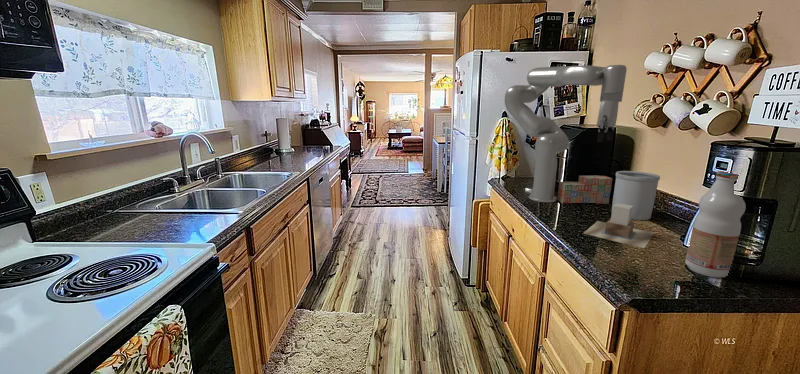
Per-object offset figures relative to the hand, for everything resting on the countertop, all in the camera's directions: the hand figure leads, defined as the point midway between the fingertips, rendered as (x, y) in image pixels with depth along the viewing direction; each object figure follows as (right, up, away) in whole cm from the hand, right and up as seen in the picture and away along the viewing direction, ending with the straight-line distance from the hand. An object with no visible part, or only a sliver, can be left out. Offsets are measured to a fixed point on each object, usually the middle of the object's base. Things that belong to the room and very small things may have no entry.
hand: (604, 141), depth 139 cm
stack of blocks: (+3, -26, +22) cm, 34 cm away
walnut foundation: (-7, -35, -19) cm, 40 cm away
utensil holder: (+13, -31, +3) cm, 33 cm away
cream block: (-7, -31, -20) cm, 38 cm away
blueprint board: (-7, -36, -19) cm, 41 cm away
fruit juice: (+2, -42, -43) cm, 61 cm away
